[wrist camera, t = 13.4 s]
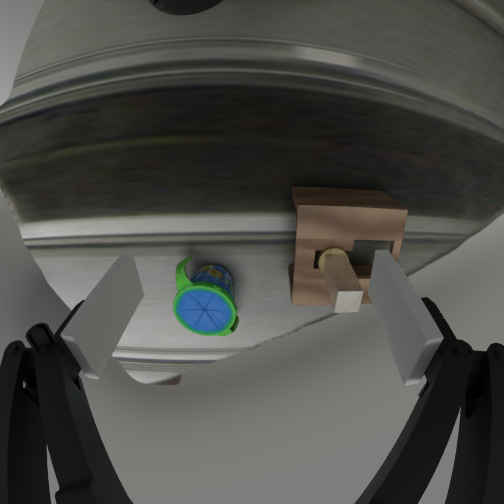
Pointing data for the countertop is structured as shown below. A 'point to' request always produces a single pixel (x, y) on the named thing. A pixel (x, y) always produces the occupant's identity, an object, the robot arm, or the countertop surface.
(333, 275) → the hanger peg
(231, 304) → the snack cup
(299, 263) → the keyhole bracket
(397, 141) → the countertop surface
